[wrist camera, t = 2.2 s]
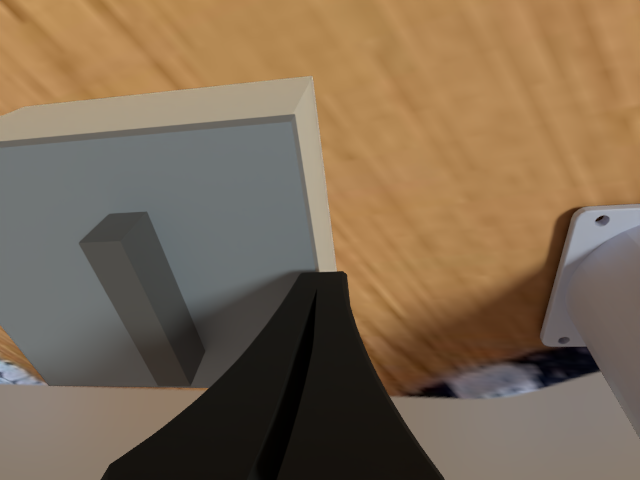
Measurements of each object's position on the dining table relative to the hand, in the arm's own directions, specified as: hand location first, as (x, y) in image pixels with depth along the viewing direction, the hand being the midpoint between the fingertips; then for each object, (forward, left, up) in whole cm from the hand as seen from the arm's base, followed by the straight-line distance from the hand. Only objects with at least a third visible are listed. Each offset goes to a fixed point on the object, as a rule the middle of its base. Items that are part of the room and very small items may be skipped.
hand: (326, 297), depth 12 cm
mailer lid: (+6, 0, -1) cm, 7 cm away
